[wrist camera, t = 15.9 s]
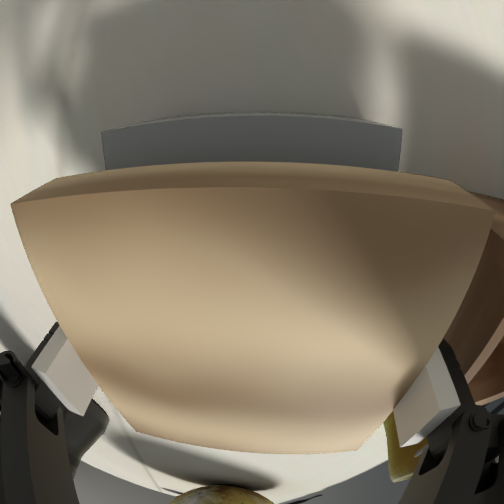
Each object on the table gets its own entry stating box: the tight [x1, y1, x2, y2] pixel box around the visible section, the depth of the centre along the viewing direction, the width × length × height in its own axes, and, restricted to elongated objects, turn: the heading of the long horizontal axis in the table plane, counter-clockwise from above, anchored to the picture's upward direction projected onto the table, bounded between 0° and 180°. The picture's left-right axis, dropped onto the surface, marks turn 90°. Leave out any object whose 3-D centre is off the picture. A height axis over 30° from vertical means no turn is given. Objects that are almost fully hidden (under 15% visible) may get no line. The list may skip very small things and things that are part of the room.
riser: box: [101, 113, 402, 172], centre depth 12 cm, size 9×14×4 cm, turn 1°
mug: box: [383, 411, 428, 482], centre depth 17 cm, size 12×10×10 cm
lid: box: [11, 162, 496, 454], centre depth 9 cm, size 12×11×3 cm
